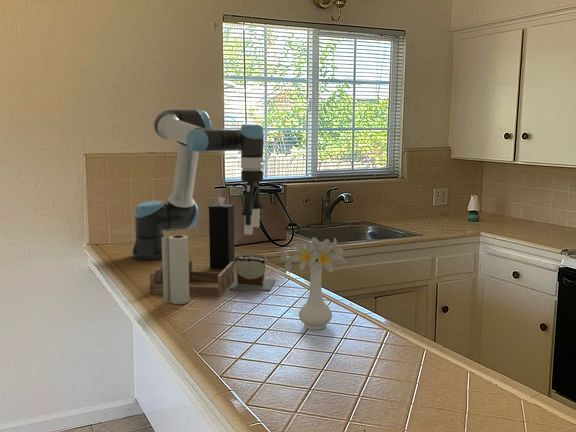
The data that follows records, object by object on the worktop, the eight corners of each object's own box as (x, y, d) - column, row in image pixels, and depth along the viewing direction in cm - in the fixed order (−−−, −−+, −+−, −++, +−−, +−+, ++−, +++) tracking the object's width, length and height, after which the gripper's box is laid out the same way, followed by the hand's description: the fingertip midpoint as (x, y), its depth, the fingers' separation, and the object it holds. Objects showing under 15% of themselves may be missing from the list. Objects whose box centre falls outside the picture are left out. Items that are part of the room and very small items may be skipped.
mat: (237, 279, 222) (237, 277, 222) (275, 280, 220) (275, 279, 220) (229, 289, 208) (229, 288, 208) (269, 291, 207) (269, 289, 207)
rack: (170, 278, 224) (169, 259, 223) (234, 280, 221) (233, 261, 220) (150, 293, 203) (150, 273, 202) (220, 296, 200) (220, 275, 199)
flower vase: (274, 325, 172) (273, 238, 168) (330, 316, 180) (331, 233, 176) (294, 339, 160) (295, 246, 157) (354, 329, 168) (355, 240, 165)
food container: (272, 282, 216) (272, 255, 214) (266, 287, 210) (266, 258, 208) (240, 279, 219) (240, 252, 218) (233, 284, 214) (233, 256, 212)
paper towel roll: (193, 300, 196) (191, 235, 192) (182, 305, 190) (180, 238, 187) (174, 298, 199) (172, 233, 195) (163, 303, 193) (161, 236, 190)
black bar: (229, 270, 237) (228, 198, 232) (209, 269, 238) (208, 198, 234) (234, 265, 244) (233, 196, 240) (216, 264, 246) (214, 195, 241)
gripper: (256, 173, 196) (256, 237, 199) (268, 166, 220) (268, 224, 224) (233, 172, 197) (234, 237, 200) (248, 166, 221) (248, 223, 224)
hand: (252, 230), depth 212 cm, fingers open, 13 cm apart
